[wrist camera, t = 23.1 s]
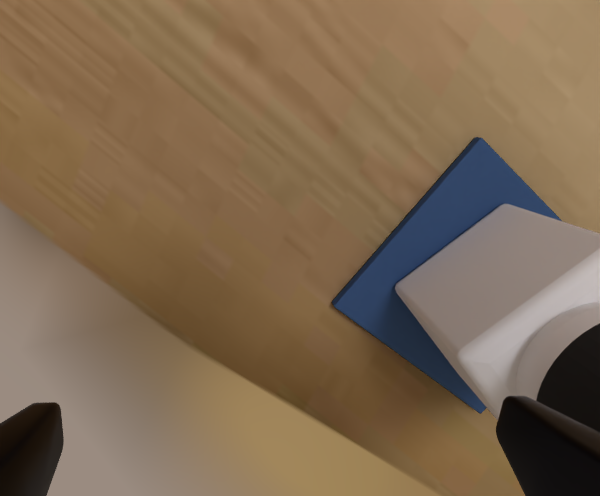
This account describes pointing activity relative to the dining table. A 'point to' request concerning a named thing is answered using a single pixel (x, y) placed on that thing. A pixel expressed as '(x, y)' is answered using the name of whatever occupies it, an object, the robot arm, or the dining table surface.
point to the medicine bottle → (517, 310)
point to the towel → (422, 246)
